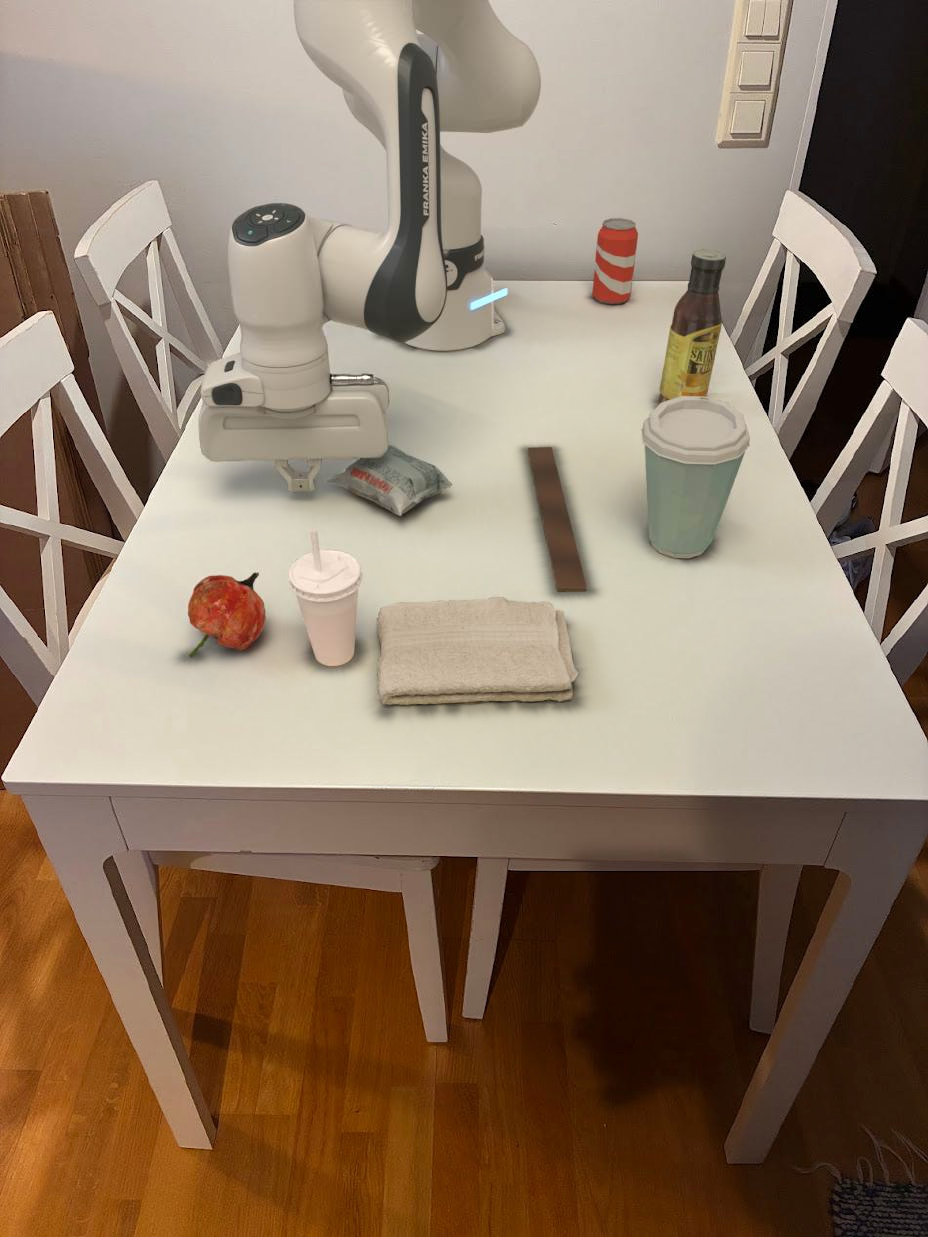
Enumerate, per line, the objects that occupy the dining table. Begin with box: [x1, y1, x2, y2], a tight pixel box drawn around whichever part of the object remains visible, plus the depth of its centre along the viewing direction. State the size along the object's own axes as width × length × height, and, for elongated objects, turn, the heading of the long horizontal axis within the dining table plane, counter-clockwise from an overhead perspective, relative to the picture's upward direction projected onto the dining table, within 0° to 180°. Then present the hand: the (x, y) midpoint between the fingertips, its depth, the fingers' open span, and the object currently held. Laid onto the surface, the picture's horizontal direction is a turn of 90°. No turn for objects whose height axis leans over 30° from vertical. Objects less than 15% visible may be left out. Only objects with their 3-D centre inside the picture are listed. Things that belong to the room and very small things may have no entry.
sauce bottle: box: [658, 249, 727, 404], centre depth 118 cm, size 6×6×20 cm
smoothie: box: [288, 528, 364, 667], centre depth 83 cm, size 6×6×14 cm
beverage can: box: [591, 217, 639, 305], centre depth 149 cm, size 6×6×12 cm
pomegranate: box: [187, 572, 267, 658], centre depth 86 cm, size 7×7×10 cm
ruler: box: [526, 446, 588, 592], centre depth 105 cm, size 28×3×1 cm, turn 3°
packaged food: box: [326, 444, 453, 517], centre depth 106 cm, size 9×12×5 cm
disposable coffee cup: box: [640, 396, 751, 559], centre depth 96 cm, size 11×11×15 cm
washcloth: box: [376, 596, 580, 706], centre depth 85 cm, size 12×18×3 cm, turn 94°
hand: (302, 488), depth 106 cm, fingers closed
